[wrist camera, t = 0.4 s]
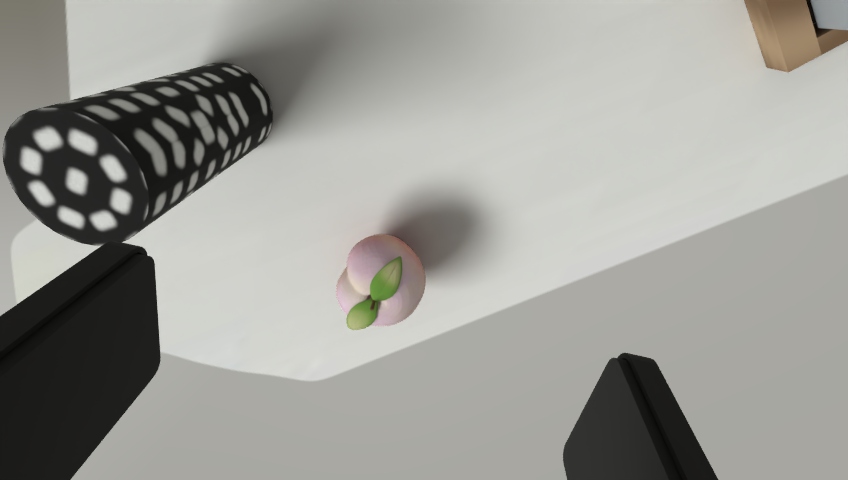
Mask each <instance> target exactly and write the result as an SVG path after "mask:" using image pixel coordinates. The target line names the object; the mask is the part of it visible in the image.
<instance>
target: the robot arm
mask: <svg viewBox="0 0 848 480" xmlns="http://www.w3.org/2000/svg"><path fill="white" fill-rule="evenodd" d="M159 364H160V344H159V328H158V312H157V296H156V280H155V264H154V260H153V258H152V257H150V256H147V252H146V250H145V249H144V248H143V247H140V246H135V245H131V244H126V243H121V242H117V241H109V242H107V243H105V244H104V245H102V246H101V247H99V248H98V249H97V250H95V251H94V252H92V253H91V254H89V255H88V256H86V257H85V258H84V259H82V260H81V261H79V262H78V263H76V264H75V265H73V266H72V267H71V268H69V269H68V270H66V271H65V272H63V273H62V274H60V275H59V276H58V277H56V278H55V279H53V280H52V281H50V282H49V283H47V284H46V285H45V286H43V287H42V288H40V289H39V290H37V291H36V292H35V293H33V294H32V295H30V296H29V297H27V298H26V299H24V300H23V301H22V302H20V303H19V304H17V305H16V306H14V307H13V308H12V309H10V310H9V311H7V312H6V313H4V314H3V315H1V316H0V480H70V479H71V478H72V477H73V476H74V474H75V473H76V472H77V471H78V469H79V468H80V467H81V466H82V465H83V463H84V462H85V461H86V460H87V458H88V457H89V456H90V455H91V453H92V452H93V451H94V450H95V449H96V447H97V446H98V445H99V444H100V442H101V441H102V440H103V439H104V437H105V436H106V435H107V434H108V433H109V431H110V430H111V429H112V428H113V426H114V425H115V424H116V423H117V421H118V420H119V419H120V418H121V416H122V415H123V414H124V413H125V411H126V410H127V409H128V408H129V406H130V405H131V404H132V403H133V402H134V400H135V399H136V398H137V397H138V395H139V394H140V393H141V392H142V390H143V389H144V388H145V387H146V386H147V384H148V383H149V382H150V381H151V379H152V378H153V377H154V375H155V374H156V372H157V370H158V367H159ZM563 461H564V467H565V471H566V476H567V480H718V478H717V477H716V475H715V473H714V471H713V469H712V467H711V465H710V464H709V461H708V460H707V458H706V456H705V454H704V452H703V450H702V448H701V446H700V444H699V443H698V441H697V439H696V437H695V435H694V433H693V431H692V429H691V428H690V426H689V424H688V422H687V420H686V418H685V416H684V414H683V412H682V410H681V409H680V407H679V405H678V403H677V401H676V399H675V397H674V395H673V393H672V392H671V390H670V388H669V386H668V384H667V383H666V380H665V378H664V376H663V375H662V373H661V371H660V369H659V367H658V365H657V364H656V362H655V361H654V360H653V359H651V358H647V357H642V356H638V355H633V354H628V353H622V354H621V355H620V356H618V358H612V359H610V360H609V362H608V364H607V365H606V367H605V369H604V371H603V373H602V375H601V377H600V379H599V381H598V382H597V384H596V386H595V388H594V390H593V392H592V394H591V396H590V398H589V400H588V402H587V404H586V405H585V407H584V409H583V411H582V413H581V415H580V417H579V419H578V421H577V423H576V425H575V427H574V428H573V431H572V432H571V434H570V436H569V438H568V440H567V442H566V444H565V447H564V452H563Z"/></svg>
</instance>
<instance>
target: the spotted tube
mask: <svg viewBox="0 0 848 480" xmlns="http://www.w3.org/2000/svg"><path fill="white" fill-rule="evenodd" d="M272 115H273V113H272V107H271V103H270V100H269V97H268V95H267V93H266V91H265V90H264V88H263V86H262V85H261V84H260V83H259V81H258V80H257V79H256V78H255V77H254V76H252V75H251V74H250V73H249V72H247V71H246V70H244V69H242V68H240V67H238V66H235V65H233V64H227V63H213V64H209V65H206V66H202V67H198V68H194V69H190V70H186V71H182V72H179V73H175V74H171V75H167V76H163V77H159V78H155V79H152V80H148V81H144V82H140V83H136V84H132V85H128V86H124V87H121V88H117V89H113V90H109V91H105V92H101V93H97V94H94V95H90V96H86V97H82V98H78V99H74V100H70V101H67V102H63V103H59V104H55V105H51V106H47V107H44V108H40V109H36V110H32V111H29V112H27V113H25V114H23V115H22V116H20V117H18V118H17V119H16V120H15V121H14V123H12V125H11V126H10V127H9V129H8V131H7V133H6V136H5V139H4V144H3V162H4V166H5V170H6V174H7V176H8V179H9V181H10V184H11V186H12V188H13V190H14V191H15V193H16V194H17V195H18V197H19V199H20V200H21V202H22V203H23V204H24V205H25V206H26V207H27V209H28V210H29V211H30V212H31V213H32V214H33V215H34V216H35V217H36V218H37V219H38V220H40V221H41V222H42V223H43V224H45V225H46V226H47V227H49V228H50V229H52V230H53V231H55V232H57V233H58V234H60V235H62V236H64V237H66V238H68V239H71V240H74V241H77V242H80V243H84V244H89V245H95V246H102V245H104V244H105V243H107V242H109V241H117V242H123V241H126V240H128V239H130V238H131V237H133V236H134V235H135V234H137V233H138V232H140V231H141V230H142V229H144V228H145V227H146V226H148V225H149V224H151V223H152V222H153V221H155V220H156V219H158V218H159V217H160V216H162V215H163V214H165V213H166V212H167V211H169V210H170V209H171V208H173V207H174V206H176V205H177V204H178V203H180V202H181V201H183V200H184V199H185V198H187V197H188V196H190V195H191V194H192V193H194V192H195V191H196V190H198V189H199V188H201V187H202V186H203V185H205V184H206V183H208V182H209V181H210V180H212V179H213V178H214V177H216V176H217V175H219V174H220V173H221V172H223V171H224V170H226V169H227V168H228V167H230V166H231V165H233V164H234V163H235V162H237V161H238V160H239V159H241V158H242V157H244V156H245V155H246V154H248V153H249V152H251V151H252V150H253V149H255V148H256V147H257V146H259V145H260V144H261V143H263V141H264V140H265V139H266V138H267V136H268V134H269V132H270V130H271V125H272Z"/></svg>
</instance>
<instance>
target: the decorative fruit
mask: <svg viewBox="0 0 848 480" xmlns="http://www.w3.org/2000/svg"><path fill="white" fill-rule="evenodd" d="M424 290H425V273H424V269H423V266H422V263H421V261H420V259H419V258H418V256H417V255H416V254H415V253H414V251H413V250H412V249H411V248H410V247H409V246H408V245H407V244H406V243H404V242H403V241H402V240H400V239H398V238H397V237H394V236H391V235H385V234H379V235H373V236H370V237H367V238H365V239H363V240H361V241H360V242H359V243H357V244H356V245H355V246H354V247H353V249H352V250H351V252H350V253H349V256H348V260H347V267H346V269H345V270H344V272H343V273H342V275H341V276H340V278H339V280H338V283H337V288H336V294H337V299H338V302H339V305H340V306H341V308H342V310H343V311H344V312H345V313H346V314H347V325H348V328H350V329H353V330H359V329H363V328H366V327H368V326H370V325H373V326H390V325H394V324H397V323H399V322H401V321H403V320H404V319H406V318H407V317H408V316H410V315H411V314H412V313H413V311H414V310H415V309H416V307H417V306H418V304H419V302H420V300H421V298H422V296H423V293H424Z"/></svg>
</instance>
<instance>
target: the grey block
mask: <svg viewBox="0 0 848 480" xmlns="http://www.w3.org/2000/svg"><path fill="white" fill-rule="evenodd" d="M810 1H811V5H812V9H813V12H814V16H815V19H816V23H817V26H818V28H826V29H838V30H848V0H810Z"/></svg>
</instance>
